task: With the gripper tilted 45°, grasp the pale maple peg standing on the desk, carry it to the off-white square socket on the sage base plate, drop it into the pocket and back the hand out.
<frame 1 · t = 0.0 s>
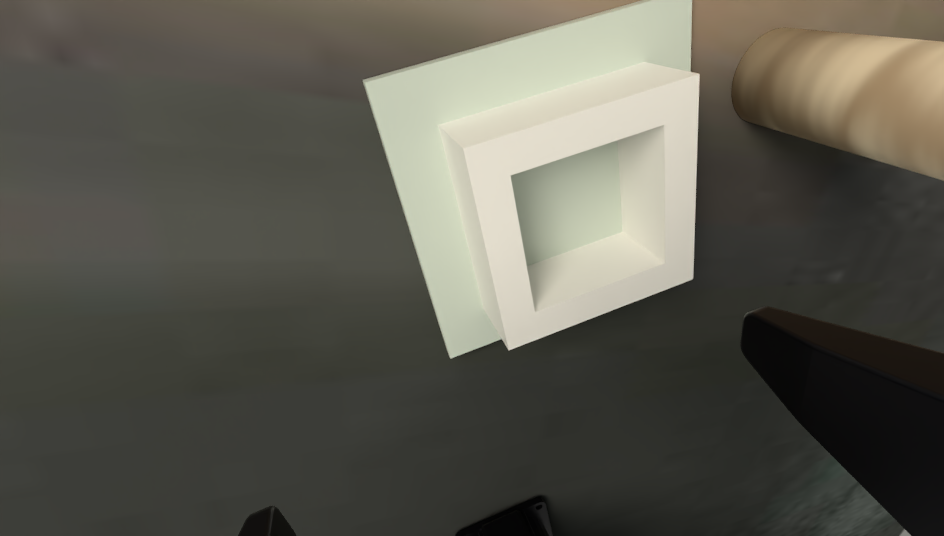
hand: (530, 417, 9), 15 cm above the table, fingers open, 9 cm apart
peg: (770, 77, 25), on the table
socket: (552, 190, 24), on the table
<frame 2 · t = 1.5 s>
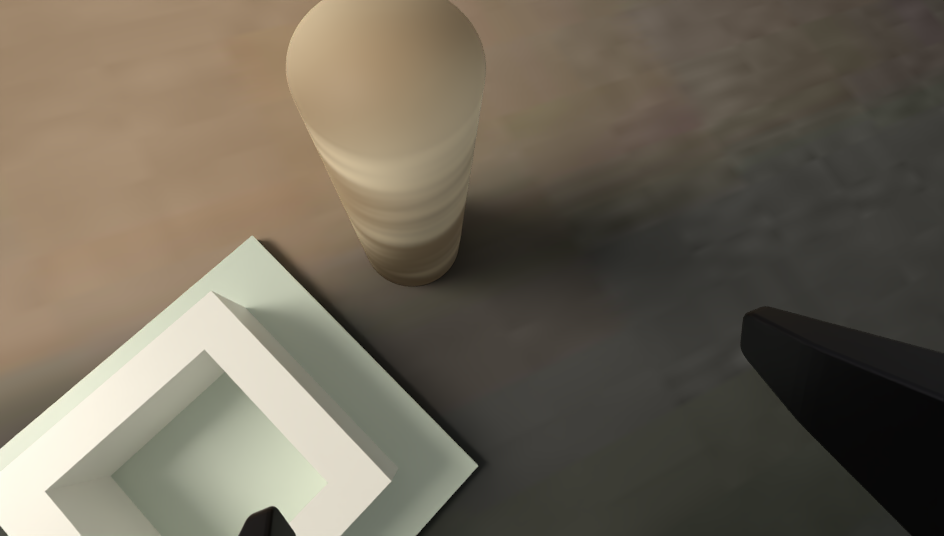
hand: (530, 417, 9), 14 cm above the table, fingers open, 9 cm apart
peg: (412, 240, 24), on the table
socket: (235, 470, 21), on the table
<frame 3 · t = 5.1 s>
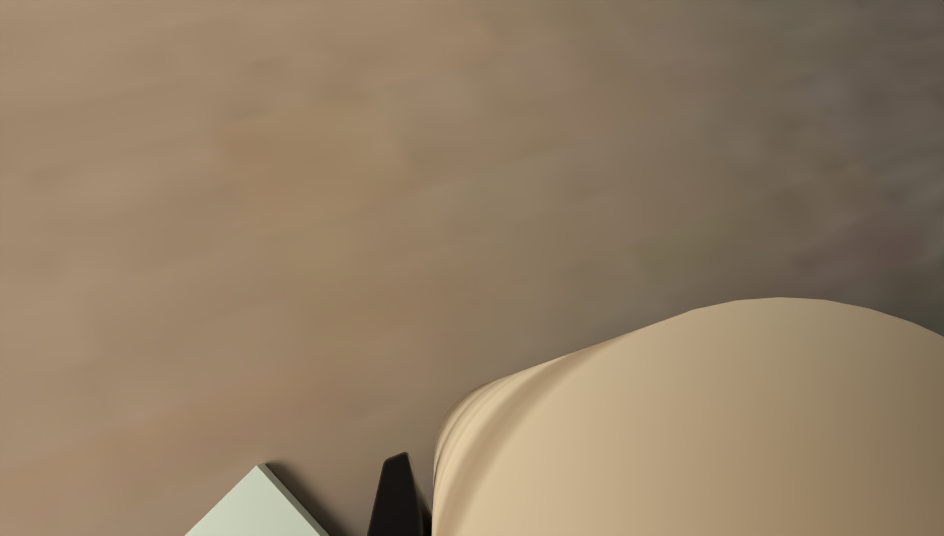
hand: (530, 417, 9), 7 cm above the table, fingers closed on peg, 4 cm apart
peg: (508, 456, 15), on the table, touching gripper
when the fingers open (9 cm above the table, at t = 9.1 s): peg drops 1 cm, resting on socket.
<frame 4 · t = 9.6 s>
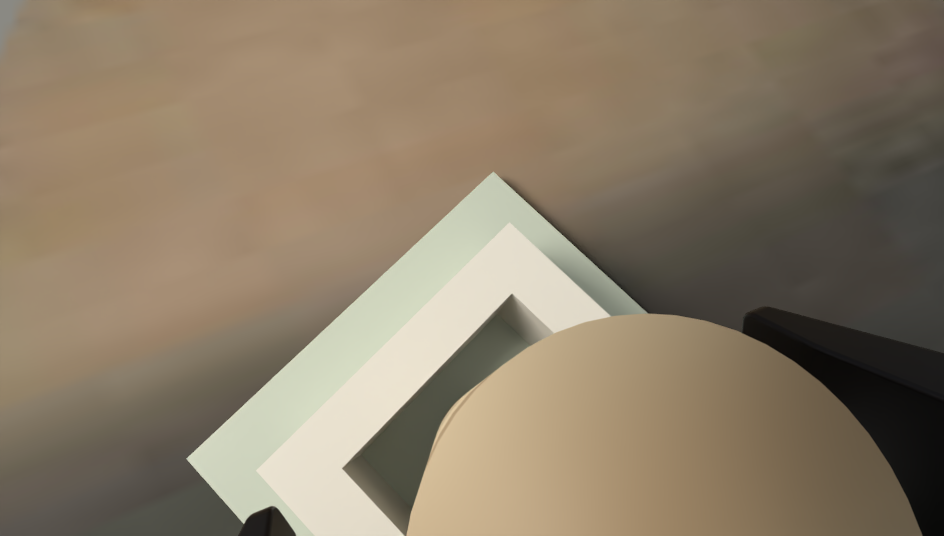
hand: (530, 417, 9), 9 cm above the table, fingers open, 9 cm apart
peg: (501, 453, 17), point 1 cm above the table, touching socket
socket: (499, 449, 17), on the table
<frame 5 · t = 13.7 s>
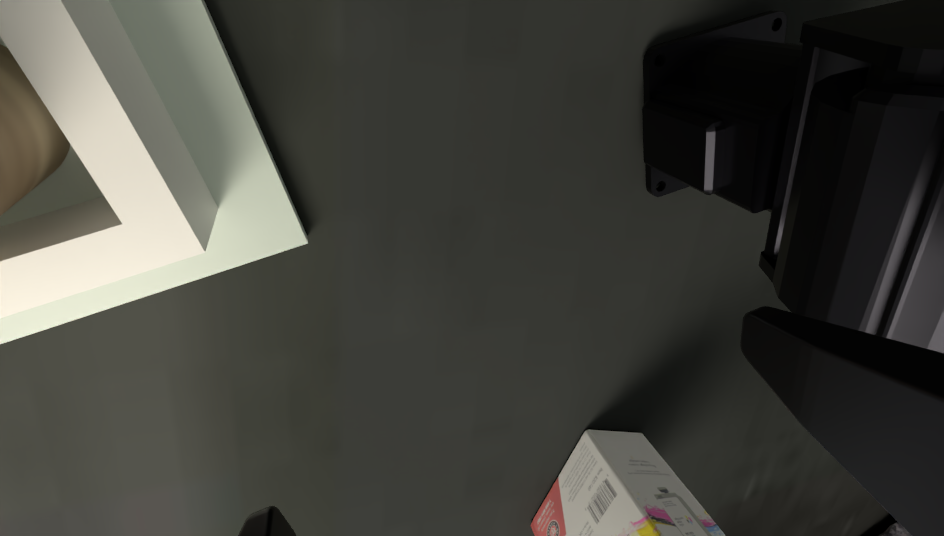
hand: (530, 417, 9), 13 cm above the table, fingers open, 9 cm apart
ink cartridge box: (584, 475, 33), on the table
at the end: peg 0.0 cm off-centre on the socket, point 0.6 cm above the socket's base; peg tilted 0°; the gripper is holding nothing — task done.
